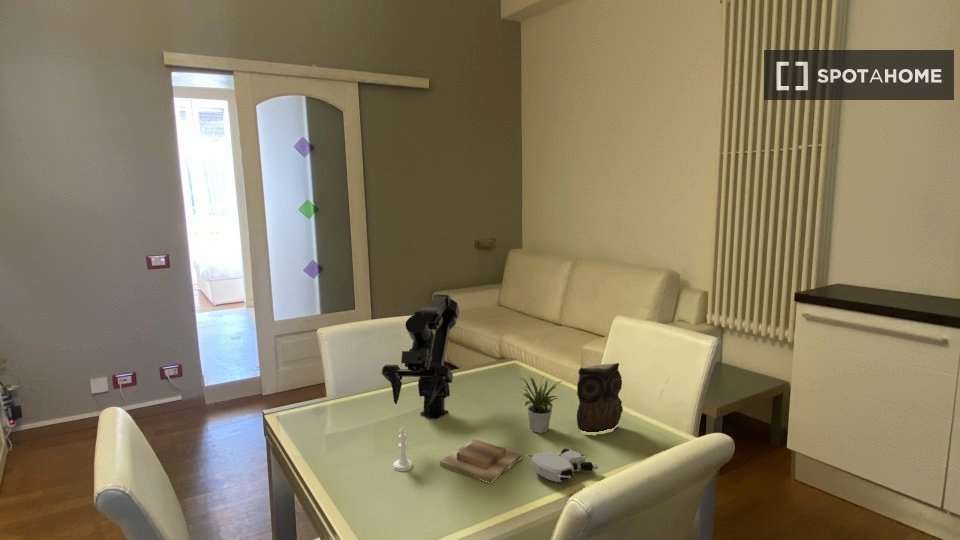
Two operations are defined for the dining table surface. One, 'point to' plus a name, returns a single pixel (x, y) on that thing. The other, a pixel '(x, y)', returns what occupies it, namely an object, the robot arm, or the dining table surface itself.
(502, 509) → the dining table surface
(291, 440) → the dining table surface
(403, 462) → the chess piece
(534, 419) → the house plant
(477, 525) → the dining table surface
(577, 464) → the robot toy
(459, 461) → the pedestal
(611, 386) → the owl
